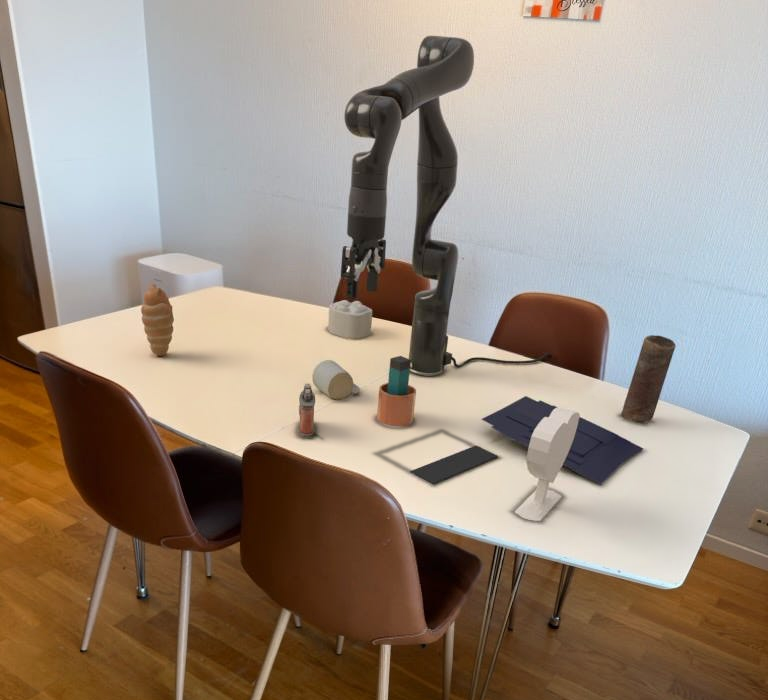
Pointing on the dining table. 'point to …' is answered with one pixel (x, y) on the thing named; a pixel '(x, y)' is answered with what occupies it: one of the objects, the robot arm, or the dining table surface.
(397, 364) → the block
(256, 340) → the dining table surface
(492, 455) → the mat
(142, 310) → the ridged brown croissant
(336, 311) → the lumpy-topped squat cylinder
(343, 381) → the ceramic mug
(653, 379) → the brown hollow cylinder
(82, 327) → the dining table surface
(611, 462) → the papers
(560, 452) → the heart sculpture
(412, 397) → the pen cup
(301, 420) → the lighter
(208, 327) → the dining table surface
